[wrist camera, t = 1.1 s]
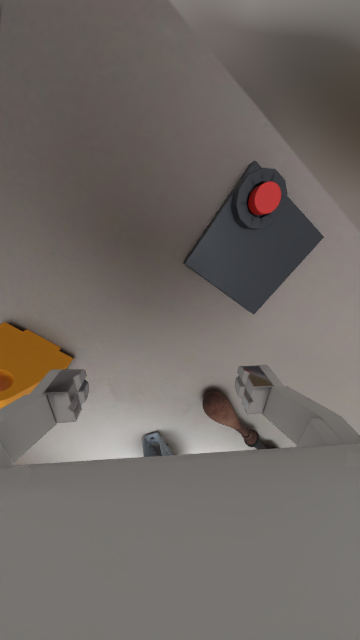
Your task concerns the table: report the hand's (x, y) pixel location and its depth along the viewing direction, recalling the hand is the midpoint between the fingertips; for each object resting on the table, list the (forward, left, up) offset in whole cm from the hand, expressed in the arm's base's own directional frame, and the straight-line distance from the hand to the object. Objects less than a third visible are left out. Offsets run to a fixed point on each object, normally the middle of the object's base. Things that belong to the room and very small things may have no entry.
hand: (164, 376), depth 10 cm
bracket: (-2, -25, -20) cm, 31 cm away
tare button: (-3, +16, -17) cm, 23 cm away
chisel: (+43, -2, -20) cm, 47 cm away
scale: (+2, +13, -19) cm, 24 cm away
